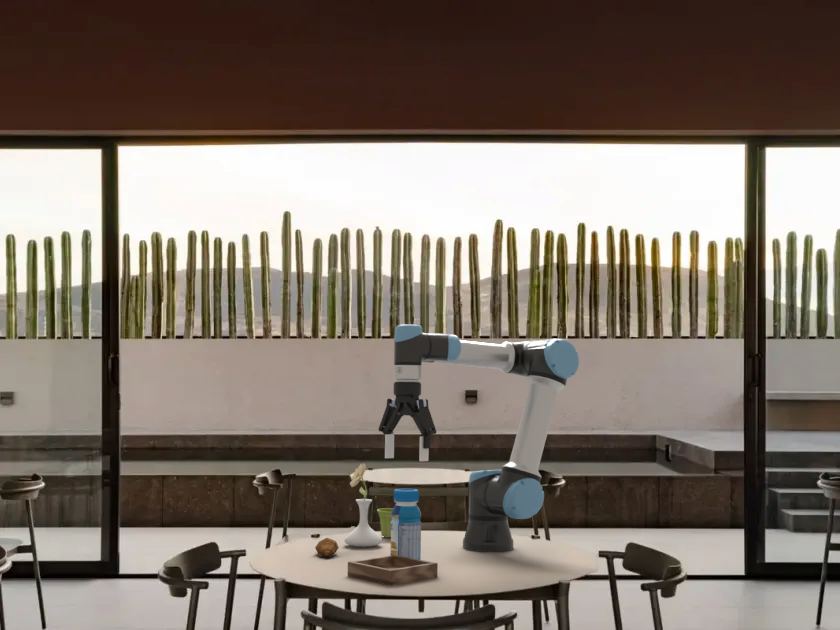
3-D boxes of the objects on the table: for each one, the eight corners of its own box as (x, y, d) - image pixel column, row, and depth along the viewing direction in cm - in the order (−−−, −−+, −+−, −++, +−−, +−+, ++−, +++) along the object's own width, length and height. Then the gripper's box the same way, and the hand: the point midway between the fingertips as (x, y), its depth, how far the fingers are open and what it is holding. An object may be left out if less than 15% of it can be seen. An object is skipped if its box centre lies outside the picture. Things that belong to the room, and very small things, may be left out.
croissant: (340, 559, 268) (340, 541, 269) (315, 559, 267) (315, 541, 268) (337, 551, 282) (337, 534, 282) (314, 551, 281) (314, 534, 281)
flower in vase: (346, 543, 296) (347, 460, 298) (383, 543, 296) (384, 461, 298) (341, 550, 283) (342, 463, 285) (380, 550, 283) (381, 464, 285)
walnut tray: (394, 568, 255) (394, 554, 255) (437, 577, 243) (437, 563, 244) (347, 576, 244) (347, 561, 244) (390, 585, 232) (390, 570, 232)
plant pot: (393, 534, 315) (394, 507, 316) (412, 538, 308) (412, 510, 308) (370, 536, 309) (371, 509, 310) (389, 540, 302) (389, 512, 302)
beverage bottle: (411, 568, 255) (412, 491, 256) (383, 565, 259) (384, 490, 260) (426, 563, 262) (427, 489, 263) (399, 560, 266) (400, 487, 268)
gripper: (367, 380, 270) (365, 457, 269) (430, 381, 253) (428, 462, 251) (386, 381, 276) (385, 456, 274) (449, 381, 258) (449, 461, 256)
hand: (406, 459), depth 262 cm, fingers open, 13 cm apart
